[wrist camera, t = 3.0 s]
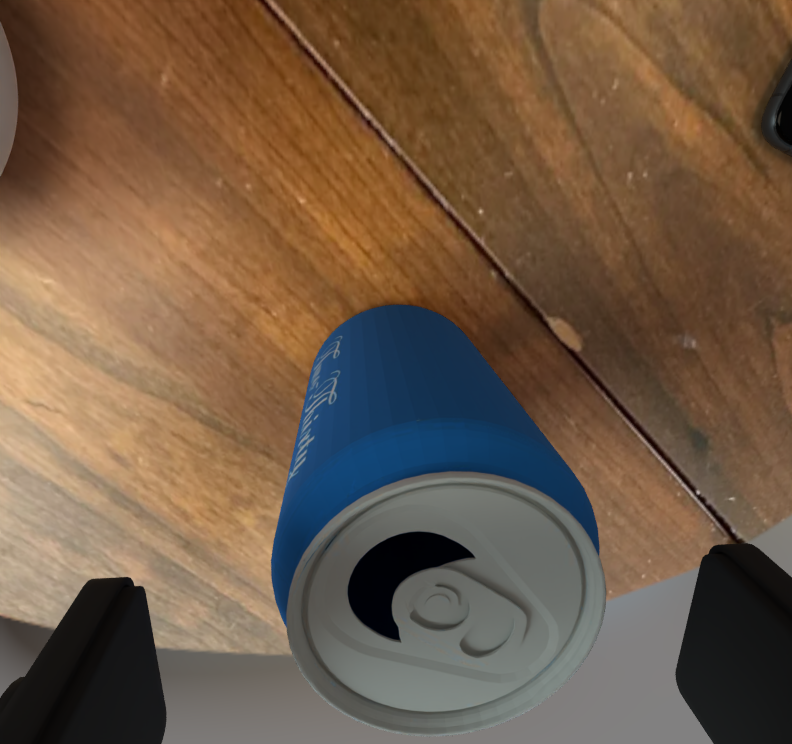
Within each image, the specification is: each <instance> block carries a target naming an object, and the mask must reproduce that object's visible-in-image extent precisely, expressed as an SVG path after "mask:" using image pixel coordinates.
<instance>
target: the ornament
mask: <svg viewBox="0 0 792 744" xmlns="http://www.w3.org/2000/svg"><path fill="white" fill-rule="evenodd" d="M17 117H18V87H17V78H16V72H15V66H14V62H13V58H12V54H11V50H10V47H9V44H8V40H7V38H6V35H5V32H4V29H3V27H2V24H1V22H0V176H1V175H2V172H3V170H4V168H5V166H6V163H7V161H8V158H9V155H10V152H11V149H12V145H13V142H14V137H15V132H16V126H17Z"/></svg>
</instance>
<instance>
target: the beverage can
mask: <svg viewBox="0 0 792 744" xmlns="http://www.w3.org/2000/svg"><path fill="white" fill-rule="evenodd" d="M271 571H272V584H273V589H274V594H275V600H276V603H277V606H278V609H279V611H280V614H281V617H282V619H283V622H284V624H285V626H286V627H287V634H288V640H289V645H290V649H291V651H292V654H293V657H294V659H295V662H296V664H297V666H298V668H299V669H300V671H301V673H302V675H303V676H304V678H305V679H306V680H307V682H308V683H309V684H310V685H311V687H312V688H313V689H314V690H315V691H316V692H317V693H318V694H319V695H320V696H321V697H322V698H323V699H324V700H325V701H326V702H327V703H329V704H330V705H331V706H333V707H334V708H336V709H337V710H338V711H340V712H341V713H343V714H345V715H347V716H349V717H351V718H352V719H354V720H356V721H359V722H361V723H363V724H366V725H369V726H371V727H374V728H377V729H381V730H385V731H388V732H393V733H399V734H405V735H414V736H449V735H457V734H464V733H470V732H474V731H478V730H483V729H486V728H489V727H493V726H495V725H498V724H502V723H504V722H506V721H509V720H511V719H513V718H516V717H518V716H520V715H522V714H524V713H525V712H527V711H529V710H531V709H532V708H534V707H536V706H538V705H539V704H540V703H542V702H543V701H545V700H546V699H548V698H549V697H550V696H552V695H553V694H554V693H555V692H556V691H557V690H559V689H560V688H561V687H562V686H563V685H564V684H565V683H566V682H567V681H568V680H569V679H570V678H571V677H572V676H573V675H574V673H575V672H576V671H577V670H578V669H579V667H580V666H581V665H582V663H583V662H584V660H585V659H586V657H587V656H588V654H589V652H590V651H591V649H592V647H593V645H594V643H595V641H596V639H597V636H598V634H599V631H600V628H601V625H602V621H603V617H604V612H605V605H606V585H605V575H604V572H603V568H602V564H601V561H600V558H599V538H598V528H597V524H596V520H595V516H594V512H593V509H592V505H591V503H590V501H589V499H588V497H587V494H586V492H585V490H584V488H583V486H582V485H581V483H580V482H579V480H578V479H577V477H576V476H575V474H574V473H573V472H572V470H571V469H570V468H569V466H568V465H567V464H566V463H565V461H564V460H563V459H562V457H561V456H560V455H559V454H558V452H557V451H556V450H555V449H554V447H553V446H552V445H551V443H550V442H549V441H548V440H547V438H546V437H545V436H544V434H543V433H542V432H541V431H540V429H539V428H538V427H537V425H536V424H535V423H534V422H533V420H532V419H531V418H530V416H529V415H528V414H527V413H526V411H525V410H524V409H523V408H522V406H521V405H520V404H519V402H518V401H517V400H516V399H515V397H514V396H513V395H512V393H511V392H510V391H509V390H508V388H507V387H506V386H505V384H504V383H503V382H502V381H501V379H500V378H499V377H498V375H497V374H496V373H495V372H494V370H493V369H492V368H491V367H490V365H489V364H488V363H487V361H486V360H485V359H484V358H483V356H482V355H481V354H480V352H479V351H478V350H477V349H476V347H475V346H474V345H473V343H472V342H471V341H470V340H469V338H468V337H467V336H466V335H465V334H464V333H463V331H462V330H461V329H460V328H459V327H457V326H456V325H455V324H454V323H453V322H451V321H450V320H448V319H447V318H445V317H444V316H442V315H440V314H438V313H436V312H433V311H431V310H428V309H425V308H421V307H417V306H411V305H387V306H381V307H377V308H372V309H370V310H367V311H364V312H362V313H359V314H358V315H356V316H354V317H352V318H350V319H349V320H347V321H346V322H344V323H343V324H342V325H340V326H339V327H338V328H337V329H336V330H335V331H334V332H333V333H332V334H331V335H330V336H329V337H328V339H327V340H326V341H325V342H324V344H323V345H322V347H321V349H320V350H319V352H318V354H317V356H316V359H315V361H314V364H313V367H312V370H311V374H310V379H309V383H308V388H307V392H306V397H305V402H304V406H303V411H302V415H301V420H300V424H299V429H298V434H297V438H296V443H295V447H294V452H293V456H292V461H291V465H290V470H289V475H288V479H287V484H286V488H285V493H284V497H283V502H282V507H281V511H280V516H279V520H278V525H277V529H276V534H275V538H274V544H273V551H272V559H271Z"/></svg>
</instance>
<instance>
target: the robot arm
mask: <svg viewBox="0 0 792 744" xmlns="http://www.w3.org/2000/svg"><path fill="white" fill-rule="evenodd" d="M676 682H677V685H678V688H679V691H680V693H681V695H682V696H683V698H684V699H685V701H686V703H687V704H688V706H689V707H690V709H691V710H692V712H693V713H694V714H695V716H696V718H697V719H698V721H699V722H700V724H701V725H702V727H703V728H704V730H705V731H706V733H707V734H708V736H709V737H710V739H711V740H712V742H713V743H714V744H792V577H791V576H789V575H788V574H787V573H786V572H785V571H784V570H783V569H781V568H780V567H779V566H778V565H777V564H775V563H774V562H773V561H772V560H771V559H770V558H769V557H768V556H766V555H765V554H764V553H763V552H762V551H761V550H760V549H758V548H757V547H755V546H754V545H752V544H748V543H744V544H725V545H716V546H713V547H712V548H711V549H710V551H709V554H708V555H705V556H704V557H703V558H702V561H701V565H700V569H699V573H698V578H697V582H696V586H695V590H694V595H693V599H692V603H691V607H690V612H689V616H688V621H687V625H686V629H685V633H684V638H683V642H682V646H681V650H680V655H679V659H678V663H677V668H676ZM165 727H166V706H165V701H164V695H163V690H162V683H161V678H160V672H159V667H158V661H157V655H156V649H155V644H154V638H153V632H152V627H151V621H150V615H149V610H148V604H147V598H146V593H145V589H144V588H143V587H142V586H134V583H133V581H132V579H131V578H129V577H120V578H101V579H91V580H89V581H88V582H87V583H86V584H85V585H84V586H83V588H82V589H81V591H80V593H79V594H78V596H77V597H76V599H75V600H74V602H73V603H72V605H71V606H70V608H69V609H68V611H67V613H66V614H65V616H64V617H63V619H62V620H61V622H60V623H59V625H58V626H57V628H56V630H55V631H54V633H53V634H52V636H51V637H50V639H49V640H48V642H47V643H46V645H45V647H44V648H43V650H42V651H41V653H40V654H39V656H38V658H37V659H36V660H35V662H34V664H33V665H32V667H31V668H30V670H29V671H28V673H27V674H26V676H25V677H20V678H19V679H17V680H16V681H14V682H13V683H12V684H11V685H10V686H9V687H8V688H7V690H6V691H5V692H4V693H3V695H2V696H1V698H0V744H161V743H162V740H163V736H164V732H165Z"/></svg>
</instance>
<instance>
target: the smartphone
mask: <svg viewBox="0 0 792 744" xmlns="http://www.w3.org/2000/svg"><path fill="white" fill-rule="evenodd" d="M761 129H762V134H763V136H764V138H765V140H766V141H767V142H768V143H769V144H770V145H771V146H773V147H774V148H776V149H778V150H780V151H782V152H784V153H786V154H788V155H790V156H792V59H791V61H790V63H789V65H788V67H787V68H786V70H785V72H784V74H783V76H782V78H781V80H780V81H779V83H778V85H777V87H776V89H775V91H774V93H773V94H772V96H771V98H770V100H769V102H768V104H767V106H766V109H765V111H764V114H763V117H762V123H761Z"/></svg>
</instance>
